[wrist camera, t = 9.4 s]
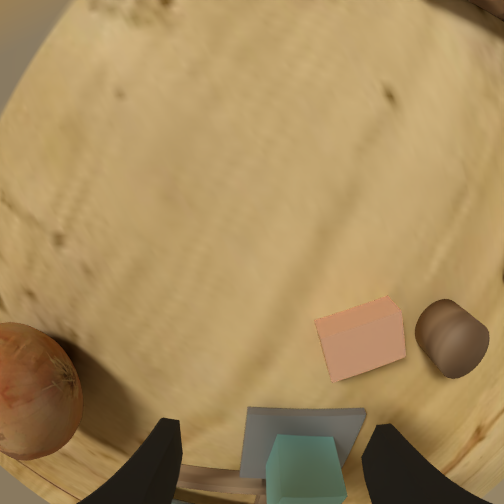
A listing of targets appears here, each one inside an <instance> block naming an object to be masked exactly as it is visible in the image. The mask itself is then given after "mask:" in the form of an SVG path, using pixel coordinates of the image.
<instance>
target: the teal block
mask: <svg viewBox="0 0 504 504" xmlns="http://www.w3.org/2000/svg"><path fill="white" fill-rule="evenodd" d="M266 497H267V504H342V502H343V501H344V500H345V499H346V497H347V492H346V488H345V483H344V479H343V475H342V471H341V467H340V462H339V458H338V454H337V450H336V446H335V442H334V438H333V437H320V436H296V435H281V434H277V437H276V439H275V442H274V445H273V448H272V450H271V453H270V456H269V458H268V461H267V464H266Z"/></svg>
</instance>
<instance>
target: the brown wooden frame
mask: <svg viewBox="0 0 504 504" xmlns="http://www.w3.org/2000/svg"><path fill="white" fill-rule="evenodd" d="M239 472H240V471H235V470H223V469H213V468H204V467H197V466H189V465H183V464H181V468H180V474H179V478H178V482H177V485H176V487H183V488H189V489H197V490H204V491H213V492H223V493H236V494H253V495H256V499H255V504H267V497H266V479H260V478H241V477H239Z"/></svg>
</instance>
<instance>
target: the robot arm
mask: <svg viewBox="0 0 504 504" xmlns="http://www.w3.org/2000/svg"><path fill="white" fill-rule="evenodd" d="M182 455H183V452H182V443H181V433H180V422H179V420H174V419H168V418H161V419H160V420H159V422H158V423H157V425H156V426H155V428H154V429H153V430H152V432H151V433H150V435H149V436H148V437H147V439H146V440H145V441H144V442H143V444H142V445H141V446H140V447H139V448H138V450H137V451H136V452H135V453H134V454H133V456H132V457H131V458H130V459H129V460H128V461H127V462H126V463H125V464H124V465H123V466H122V467H121V468H120V469H119V470H118V471H117V472H116V473H115V474H114V475H113V476H112V477H111V478H110V479H109V480H108V481H107V482H105V483H104V484H103V485H102V486H101V487H99V488H98V489H97V490H96V491H94V492H93V493H91V494H90V495H89V496H87V497H86V498H84V499H83V500H82V501H80V502H78V503H77V504H171V502H172V499H173V496H174V492H175V489H176V485H177V482H178V478H179V474H180V468H181V461H182ZM361 458H362V465H363V472H364V478H365V482H366V485H367V488H368V492H369V495H370V498H371V502H372V504H492V503H489V502H487V501H485V500H483V499H481V498H479V497H477V496H475V495H473V494H471V493H470V492H468V491H466V490H465V489H463V488H461V487H460V486H458V485H457V484H456V483H454V482H453V481H451V480H450V479H448V478H447V477H446V476H445V475H443V474H442V473H441V472H440V471H439V470H437V469H436V468H435V467H434V466H433V465H432V464H431V463H429V462H428V461H427V460H426V459H425V458H424V457H423V456H422V455H421V454H420V453H419V452H418V451H417V450H416V449H415V448H414V447H413V446H412V445H411V444H410V443H409V442H408V441H407V440H406V439H405V438H404V437H403V436H402V434H401V433H400V432H399V431H398V430H397V429H396V428H395V427H394V426H393V425H392V424H382V425H377V426H376V428H375V430H374V432H373V434H372V436H371V439H370V441H369V443H368V445H367V447H366V449H365V451H364V453H363V455H362V457H361Z"/></svg>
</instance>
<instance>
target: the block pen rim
mask: <svg viewBox="0 0 504 504" xmlns="http://www.w3.org/2000/svg"><path fill="white" fill-rule="evenodd" d="M467 1H469V2H471V3H473V4H475V5H477V6H479V7H480V8H482V9H484V10H486V11H488V12H489V13H491V14H493V15H495V16H496V17H498V18H500V19H501V20H503V21H504V0H467Z"/></svg>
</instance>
